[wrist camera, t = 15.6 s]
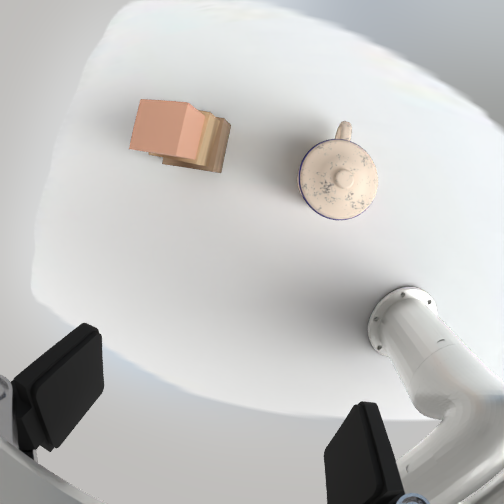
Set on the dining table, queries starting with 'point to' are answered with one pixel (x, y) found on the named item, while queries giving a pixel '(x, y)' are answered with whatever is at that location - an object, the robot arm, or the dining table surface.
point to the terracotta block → (167, 128)
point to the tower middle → (202, 141)
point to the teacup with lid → (338, 177)
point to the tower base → (217, 151)
